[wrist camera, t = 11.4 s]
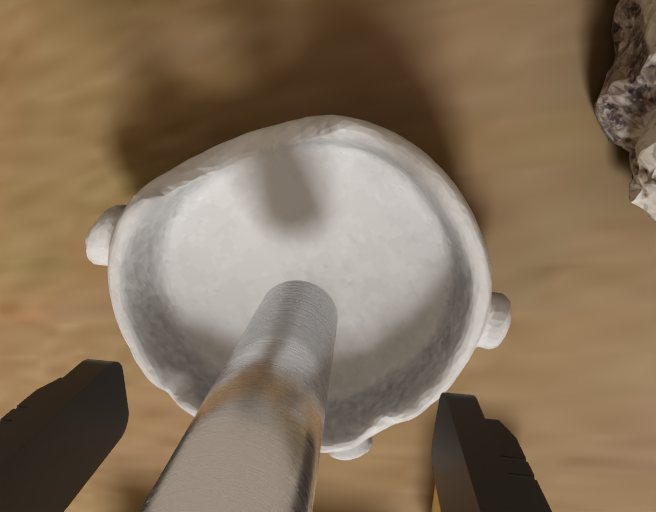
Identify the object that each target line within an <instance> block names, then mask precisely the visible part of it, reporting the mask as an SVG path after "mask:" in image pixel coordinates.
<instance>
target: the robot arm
mask: <svg viewBox="0 0 656 512" xmlns="http://www.w3.org/2000/svg"><path fill="white" fill-rule="evenodd" d="M128 416H129V411H128V404H127V396H126V389H125V382H124V375H123V369H122V366H121V364H120V363H119V362H114V361H103V360H92V359H87V360H84V361H82V362H81V363H80V364H79V365H77V366H76V367H75V368H74V369H73V370H72V371H70V372H69V373H68V374H67V375H66V376H64V377H63V378H59V379H57V380H55V381H53V382H51V383H49V384H47V385H45V386H43V387H41V388H39V389H38V390H36V391H35V392H33V393H32V394H31V395H30V396H28V397H27V398H26V399H25V400H24V401H22V402H21V403H20V404H19V405H17V408H16V409H12V410H11V411H10V412H9V413H7V414H6V415H5V416H4V417H3V418H1V421H0V512H64V511H65V510H66V508H67V507H68V506H69V504H70V503H71V502H72V501H73V499H74V498H75V497H76V495H77V494H78V493H79V491H80V490H81V489H82V488H83V486H84V485H85V484H86V482H87V481H88V480H89V479H90V477H91V476H92V475H93V473H94V472H95V471H96V470H97V468H98V467H99V466H100V464H101V463H102V462H103V461H104V459H105V458H106V457H107V455H108V454H109V453H110V452H111V450H112V449H113V448H114V446H115V445H116V444H117V443H118V441H119V440H120V439H121V437H122V435H123V434H124V431H125V429H126V426H127V422H128ZM432 469H433V475H434V480H435V485H436V490H437V495H438V500H439V505H440V510H441V512H552V511H551V509H550V507H549V505H548V503H547V501H546V498H545V496H544V494H543V492H542V490H541V488H540V486H539V484H538V482H537V480H535V479H534V474H533V472H532V470H531V468H530V466H529V463H528V462H526V457H525V455H524V453H523V451H522V449H521V447H520V445H519V443H518V441H517V439H516V437H515V436H514V435H513V434H512V433H511V432H510V431H509V430H508V429H507V428H506V427H505V426H504V425H503V424H502V423H501V422H500V421H499V420H491V419H485V418H484V415H483V413H482V410H481V408H480V405H479V403H478V401H477V398H476V397H475V396H474V395H466V394H455V393H444V392H442V393H441V395H440V399H439V404H438V411H437V417H436V423H435V429H434V436H433V442H432Z"/></svg>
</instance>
